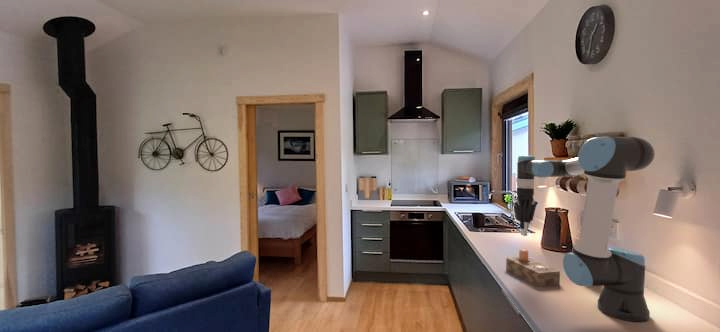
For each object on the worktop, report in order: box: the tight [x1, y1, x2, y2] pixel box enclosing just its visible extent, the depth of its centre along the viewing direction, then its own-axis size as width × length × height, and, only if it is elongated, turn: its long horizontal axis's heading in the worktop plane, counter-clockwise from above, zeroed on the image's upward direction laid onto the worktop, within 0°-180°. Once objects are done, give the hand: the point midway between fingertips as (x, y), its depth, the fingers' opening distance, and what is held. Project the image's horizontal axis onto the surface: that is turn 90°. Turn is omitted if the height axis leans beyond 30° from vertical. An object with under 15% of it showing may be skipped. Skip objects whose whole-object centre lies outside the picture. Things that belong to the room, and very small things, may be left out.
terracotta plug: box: [518, 248, 529, 262], centre depth 164 cm, size 4×4×6 cm
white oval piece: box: [535, 266, 545, 270], centre depth 153 cm, size 4×4×6 cm
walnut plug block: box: [505, 256, 561, 287], centre depth 159 cm, size 22×11×6 cm, turn 13°
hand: (523, 235), depth 164 cm, fingers closed
